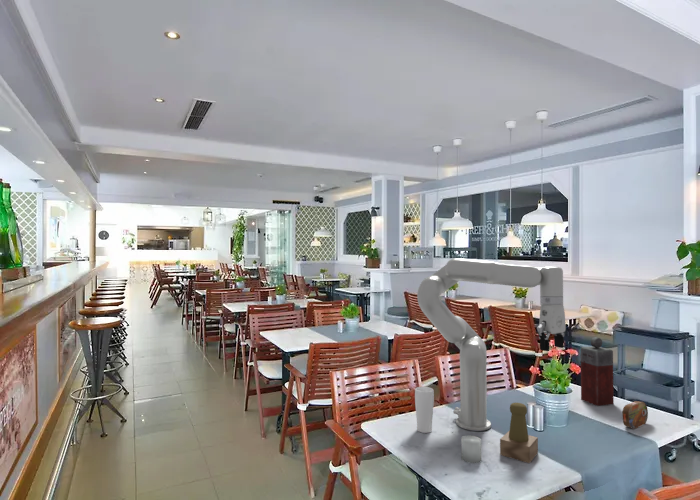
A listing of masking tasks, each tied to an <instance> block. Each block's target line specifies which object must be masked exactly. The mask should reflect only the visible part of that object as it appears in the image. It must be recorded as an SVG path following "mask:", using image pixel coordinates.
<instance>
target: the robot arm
mask: <svg viewBox="0 0 700 500" xmlns="http://www.w3.org/2000/svg"><path fill="white" fill-rule="evenodd" d="M458 282H469V283H476V284H477V283H480V284H485V285H486V284H487V285H501V286H510V287H521V288H528V289H529V288H536V287H537V286H539V289H540V290H539V300H540V302H539V304H540V309H539V323H538V326H537V328H536V330H537V335H538V339H539V350H540V351H545V352H550V339H549V337H550V335H551V334H552V335H554V336H553V337H554V339H553V340H554V343H553V344H554V347H555V348H560V349H561V348H562V349H563V348H564V347H565V342H564V340H565V338H564V337H565V332H566V327H567V326H566V313H565V306H564V270H563V268H561V267H559V266H542V267H539V266H532V265H516V264H508V263H507V264H505V263H500V262H496V261H491V260H481V259H479V260H478V259H468V258H459V257H458V258H457V257H454V258H451V259H449V260H448V261H447V262H446V264H445V265H443V266H442V267H441V268H439V269H438V270H437V271H435V272H434V273H433V274H432V275H430V276H427V277H425V278H424V279H423V280H422V281H421V282H420V284H419V287H418V289H417V294H416V297H417V303H418V306H419V308H420V310H421V311H422V313H423V315H424V316H425V317H426V318H427V319H428V320H429V321H430V323H431V325H433V327H434V328H435V329H436V330H437V331H438V332H439V333H440V334H441V335H442V337H443V338H444V340H445V341H447V342H448V343H451V344H454V345H455V346H456V347H457V348H458V349H459V379H460V380H459V383H460V384H459V386H460V389H459V390H460V392H459V393H460V396H459V397H460V398H459V399H460V406H459V407H458V406H455V408H454V410H453V414H454V415H457V418H456V420H455V421H456V422H455V423H456V425H457V426H458V427H459V428H461V429H465V430H468V431H475V432H484V431H488V430H490V429H491V427H492V423H491V421H490V420H488V419H487V418H488V417H487V416H488V414H487V411H488V410H487V409H488V408H487V407H488V406H487V405H488V404H487V401H488V400H487V385H488V384H487V355H488V354H487V346H486V343H485V341H484V340H483V339H482V337H480V336H479V334H478V333H477V332H476V331H475V330H474V329H473V328H472V327H471V325H470V324H469V323H468V322H467V321H466V320H465V319H464V318H462V317H461V316H458V315H455V314H454V313H453V312H452V311H451V310H450V309H449V307H448V306H447V305H446V304H445V303H444V302H443V301H442V300H441V297H440V296H441V295H442V294H443V293H445V292H447V290H449V289H450V288H452V287H453V286H455V285H456V284H457V283H458Z"/></svg>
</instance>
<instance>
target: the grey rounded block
mask: <svg viewBox="0 0 700 500" xmlns="http://www.w3.org/2000/svg"><path fill="white" fill-rule="evenodd" d="M460 440H461V441H460V442H461V450H460V451H461V460H463V461H464V462H466V463H469V464H478V463H479V464H480V462H482V439H481V438H480V437H478V436H475V435H463V436H461V439H460Z"/></svg>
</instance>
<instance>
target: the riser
mask: <svg viewBox="0 0 700 500" xmlns="http://www.w3.org/2000/svg"><path fill="white" fill-rule="evenodd" d="M528 438H529V440H528V441H527V442H516V441H513V440H511V439H509V430H508V431H507V432H506V433H505V434H504V435H502V437H501V438H499V452H500V453H499V455H500V456H503V457H505V458H510V459H513V460H517V461H521V462H524V463H527V464H530V463H531V462H533V460H534V458H536V456H537V455H538V453H539V437H537V436H535V435H534V436H533V435H530V434H528Z"/></svg>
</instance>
